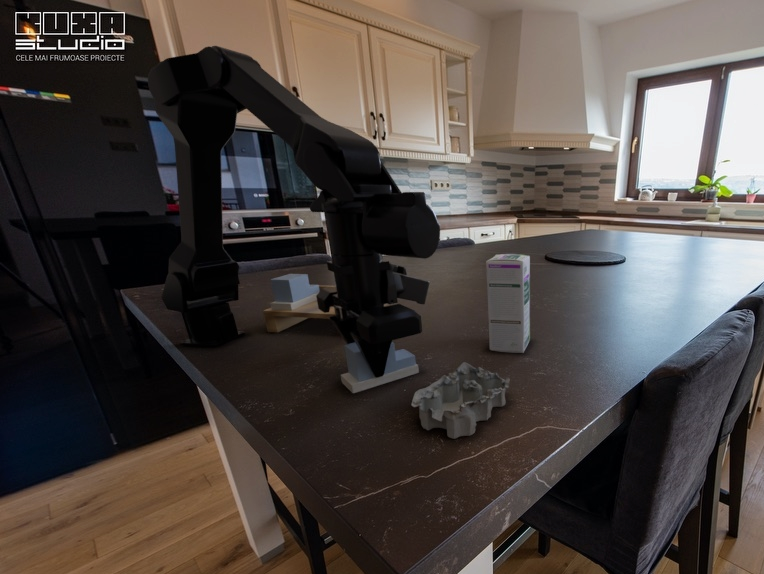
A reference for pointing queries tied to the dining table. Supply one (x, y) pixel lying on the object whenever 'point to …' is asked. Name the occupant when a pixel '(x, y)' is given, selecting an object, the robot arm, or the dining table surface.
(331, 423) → the dining table surface
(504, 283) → the syrup box
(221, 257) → the robot arm
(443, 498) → the dining table surface
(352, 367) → the trainer
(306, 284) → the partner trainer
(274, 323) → the shoe shelf
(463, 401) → the egg carton
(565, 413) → the dining table surface
